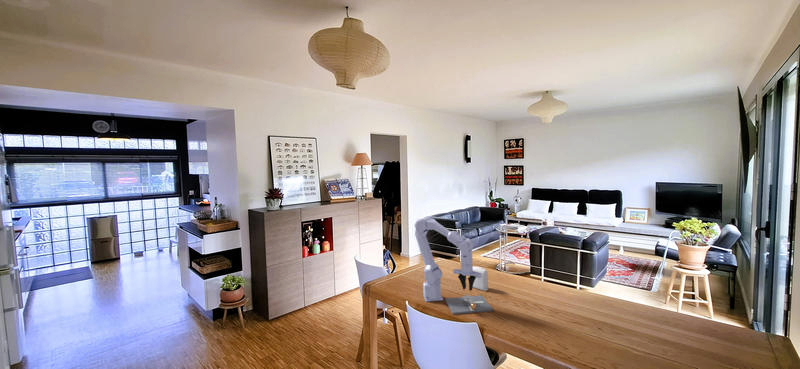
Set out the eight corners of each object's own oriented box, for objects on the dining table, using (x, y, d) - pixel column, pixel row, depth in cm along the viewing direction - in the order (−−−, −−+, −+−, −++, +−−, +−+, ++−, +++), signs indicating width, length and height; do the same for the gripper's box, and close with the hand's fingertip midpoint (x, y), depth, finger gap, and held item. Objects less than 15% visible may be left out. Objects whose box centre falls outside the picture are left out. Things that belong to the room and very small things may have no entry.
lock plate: (452, 314, 152) (452, 310, 152) (445, 300, 168) (445, 296, 168) (493, 310, 154) (493, 306, 154) (481, 297, 170) (481, 293, 170)
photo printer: (470, 286, 184) (469, 266, 184) (474, 284, 187) (473, 264, 186) (484, 291, 176) (484, 270, 176) (489, 289, 179) (488, 268, 178)
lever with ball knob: (461, 299, 163) (461, 294, 163) (471, 298, 163) (471, 294, 163) (469, 310, 150) (469, 305, 150) (479, 309, 151) (479, 304, 151)
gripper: (450, 263, 160) (451, 289, 161) (477, 267, 152) (478, 295, 153) (456, 259, 166) (457, 284, 167) (482, 263, 158) (483, 289, 159)
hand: (467, 289), depth 160 cm, fingers open, 3 cm apart
